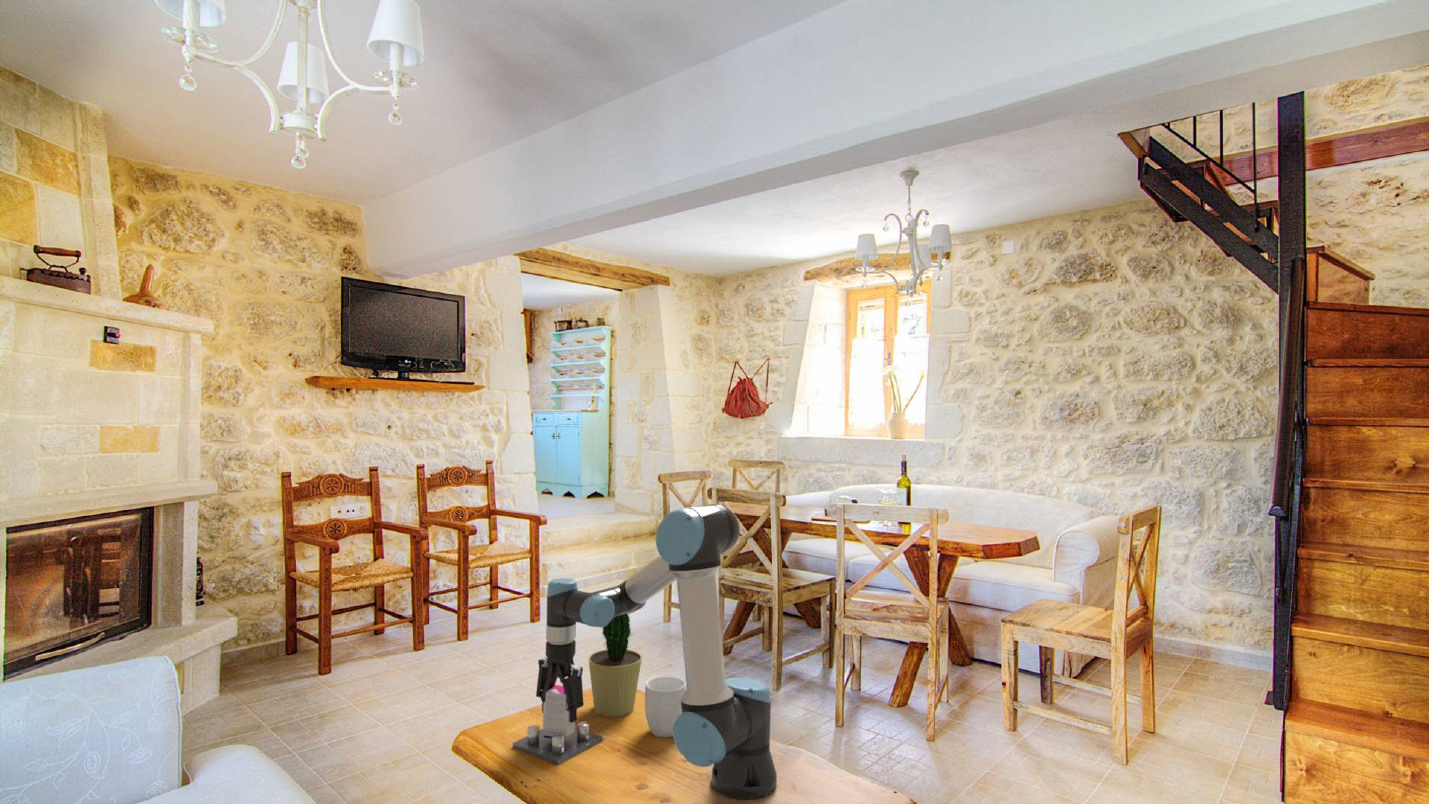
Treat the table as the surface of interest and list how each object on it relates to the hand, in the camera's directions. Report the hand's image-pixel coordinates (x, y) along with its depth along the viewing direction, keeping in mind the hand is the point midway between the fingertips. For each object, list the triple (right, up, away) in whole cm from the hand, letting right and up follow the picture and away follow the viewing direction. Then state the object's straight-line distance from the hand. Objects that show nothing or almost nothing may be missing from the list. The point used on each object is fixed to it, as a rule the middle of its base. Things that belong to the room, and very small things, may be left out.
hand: (558, 730), depth 181 cm
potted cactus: (+11, -5, +23) cm, 25 cm away
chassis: (0, -3, 0) cm, 3 cm away
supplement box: (0, -1, 0) cm, 1 cm away
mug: (+28, -5, +8) cm, 29 cm away
